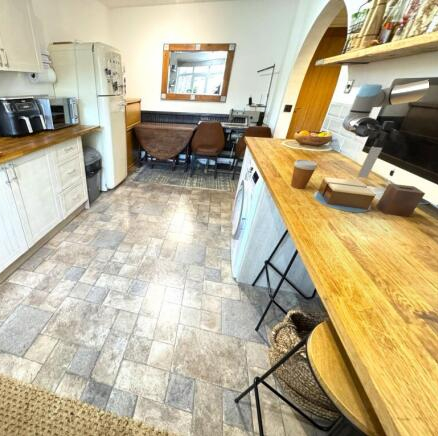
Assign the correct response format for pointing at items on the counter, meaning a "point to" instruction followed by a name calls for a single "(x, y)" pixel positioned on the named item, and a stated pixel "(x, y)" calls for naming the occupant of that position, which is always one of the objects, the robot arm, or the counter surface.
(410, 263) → the counter surface
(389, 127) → the cake knife
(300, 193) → the counter surface
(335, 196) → the cake
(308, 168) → the disposable coffee cup
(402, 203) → the knife block
